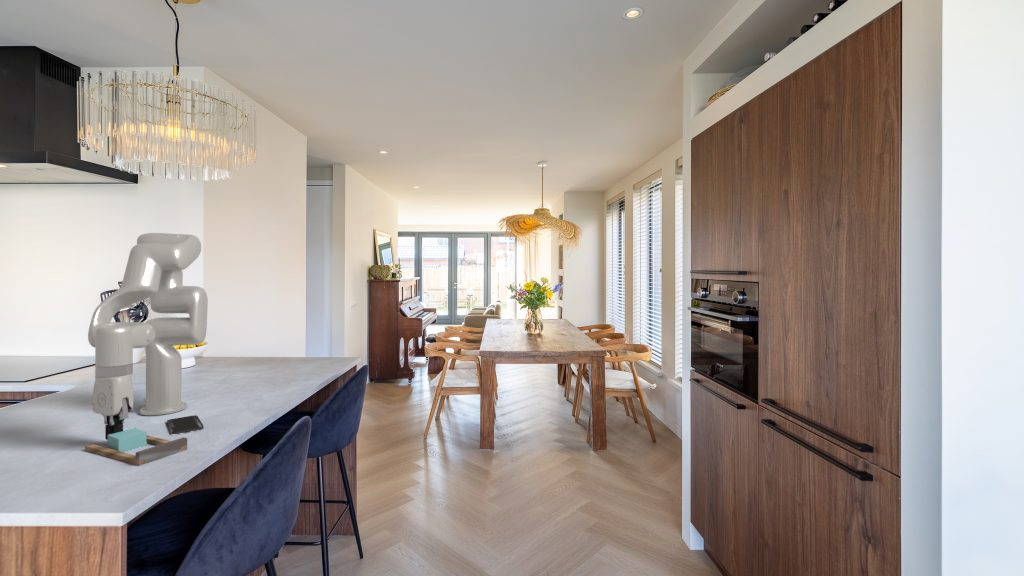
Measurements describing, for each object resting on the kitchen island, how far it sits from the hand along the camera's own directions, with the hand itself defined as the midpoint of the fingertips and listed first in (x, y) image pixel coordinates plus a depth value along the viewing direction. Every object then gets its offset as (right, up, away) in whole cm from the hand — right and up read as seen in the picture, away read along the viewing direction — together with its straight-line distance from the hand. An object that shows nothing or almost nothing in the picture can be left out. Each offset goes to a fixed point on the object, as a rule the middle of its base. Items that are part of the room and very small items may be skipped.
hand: (114, 438), depth 119 cm
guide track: (+9, -2, -3) cm, 10 cm away
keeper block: (+5, -2, -2) cm, 6 cm away
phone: (+8, -2, +15) cm, 17 cm away
